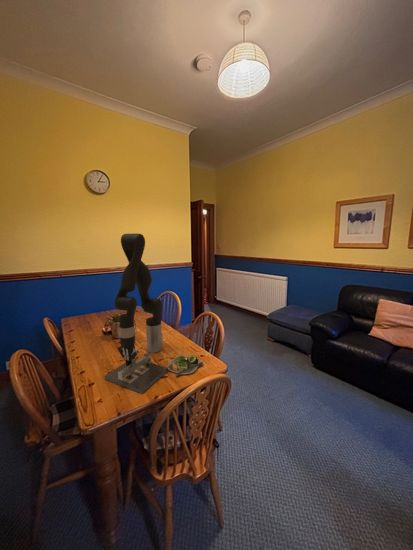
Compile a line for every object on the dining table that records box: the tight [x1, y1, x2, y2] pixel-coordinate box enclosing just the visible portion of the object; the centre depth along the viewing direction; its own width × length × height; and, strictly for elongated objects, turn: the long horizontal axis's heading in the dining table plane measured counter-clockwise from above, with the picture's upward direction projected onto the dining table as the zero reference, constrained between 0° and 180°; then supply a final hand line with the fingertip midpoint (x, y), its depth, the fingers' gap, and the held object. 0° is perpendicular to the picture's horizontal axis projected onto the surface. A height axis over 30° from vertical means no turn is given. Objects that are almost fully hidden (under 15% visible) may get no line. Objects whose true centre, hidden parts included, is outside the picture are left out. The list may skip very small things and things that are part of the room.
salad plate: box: [166, 354, 204, 377], centre depth 125 cm, size 19×18×5 cm
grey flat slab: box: [104, 357, 169, 395], centre depth 118 cm, size 20×24×4 cm
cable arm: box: [118, 352, 152, 379], centre depth 117 cm, size 21×4×3 cm, turn 154°
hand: (128, 365), depth 120 cm, fingers closed
